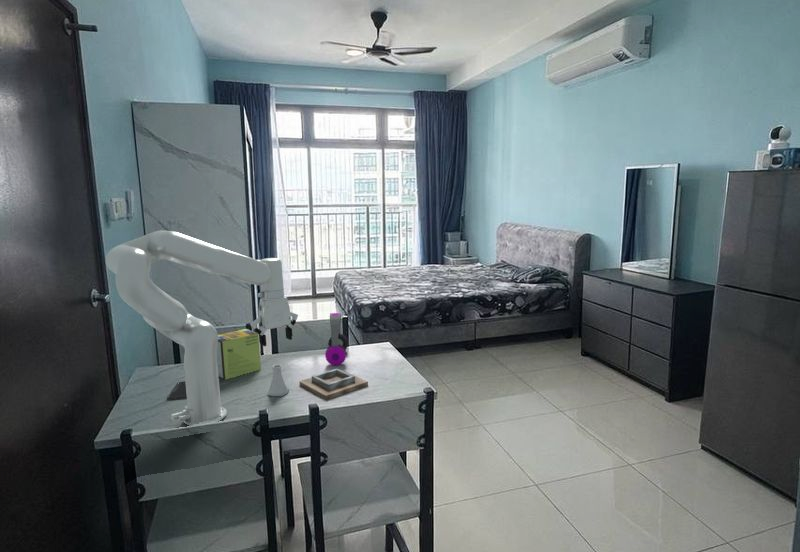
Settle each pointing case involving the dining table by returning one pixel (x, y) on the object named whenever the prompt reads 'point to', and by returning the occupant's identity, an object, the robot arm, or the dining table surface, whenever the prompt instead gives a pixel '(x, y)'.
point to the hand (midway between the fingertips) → (276, 342)
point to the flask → (278, 383)
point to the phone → (178, 391)
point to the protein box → (238, 353)
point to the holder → (333, 383)
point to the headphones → (336, 342)
